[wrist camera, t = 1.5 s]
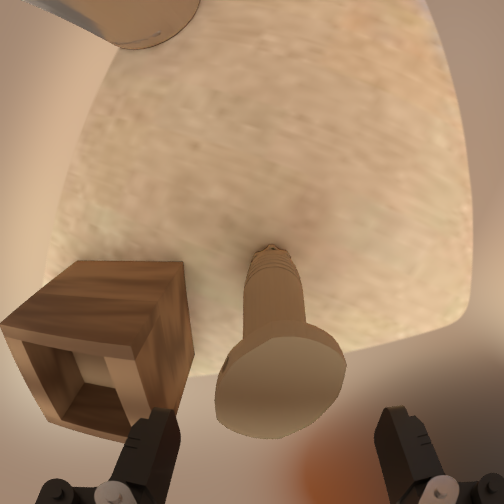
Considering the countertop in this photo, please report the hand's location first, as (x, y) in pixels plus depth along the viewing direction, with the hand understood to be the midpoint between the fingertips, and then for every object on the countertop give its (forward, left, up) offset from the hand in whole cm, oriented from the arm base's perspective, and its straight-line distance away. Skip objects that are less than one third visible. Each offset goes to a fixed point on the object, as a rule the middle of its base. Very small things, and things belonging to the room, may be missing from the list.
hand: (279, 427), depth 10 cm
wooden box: (+5, -13, -17) cm, 22 cm away
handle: (0, 0, -17) cm, 17 cm away
